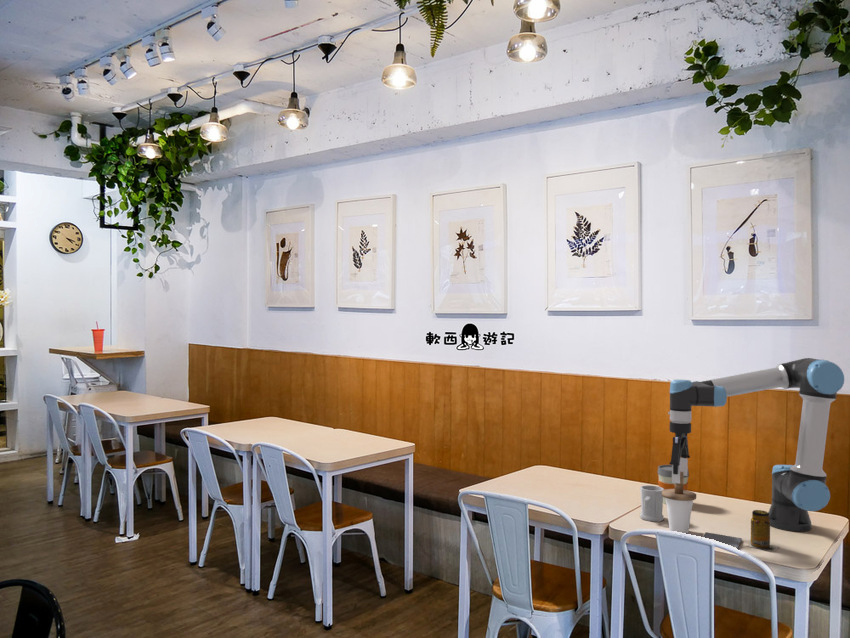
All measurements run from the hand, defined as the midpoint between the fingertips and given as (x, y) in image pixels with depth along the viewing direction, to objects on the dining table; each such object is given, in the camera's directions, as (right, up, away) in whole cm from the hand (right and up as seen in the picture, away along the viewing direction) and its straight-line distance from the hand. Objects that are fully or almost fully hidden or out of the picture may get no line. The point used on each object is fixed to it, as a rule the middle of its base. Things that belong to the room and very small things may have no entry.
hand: (679, 479), depth 249 cm
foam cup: (0, -20, 0) cm, 20 cm away
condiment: (+23, -20, -15) cm, 34 cm away
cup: (-5, -19, +15) cm, 25 cm away
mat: (+10, -20, -11) cm, 25 cm away
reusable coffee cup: (+11, -19, +38) cm, 44 cm away
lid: (0, -6, 0) cm, 6 cm away
